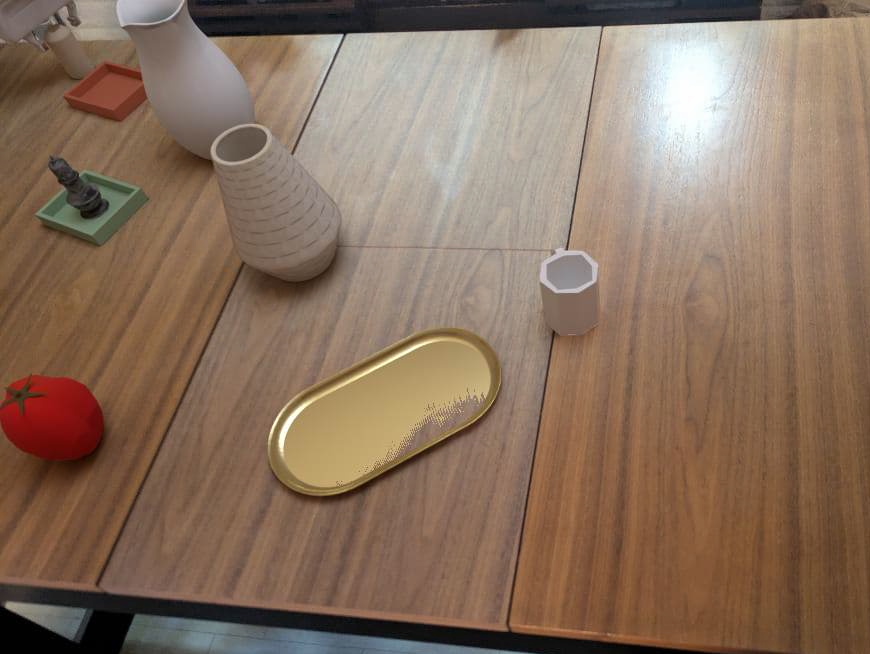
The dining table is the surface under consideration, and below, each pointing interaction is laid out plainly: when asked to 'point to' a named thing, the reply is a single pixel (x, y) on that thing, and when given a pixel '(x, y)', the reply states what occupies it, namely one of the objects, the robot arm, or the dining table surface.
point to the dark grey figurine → (79, 190)
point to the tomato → (51, 417)
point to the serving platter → (379, 409)
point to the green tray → (100, 229)
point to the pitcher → (185, 74)
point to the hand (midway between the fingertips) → (61, 37)
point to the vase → (274, 205)
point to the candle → (68, 51)
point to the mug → (570, 292)
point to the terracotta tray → (108, 91)
